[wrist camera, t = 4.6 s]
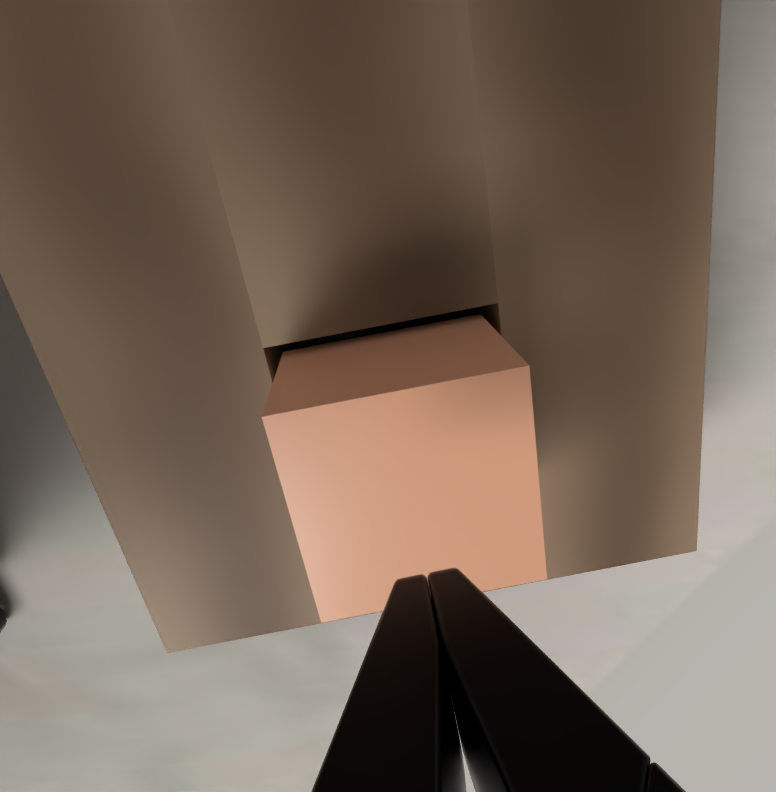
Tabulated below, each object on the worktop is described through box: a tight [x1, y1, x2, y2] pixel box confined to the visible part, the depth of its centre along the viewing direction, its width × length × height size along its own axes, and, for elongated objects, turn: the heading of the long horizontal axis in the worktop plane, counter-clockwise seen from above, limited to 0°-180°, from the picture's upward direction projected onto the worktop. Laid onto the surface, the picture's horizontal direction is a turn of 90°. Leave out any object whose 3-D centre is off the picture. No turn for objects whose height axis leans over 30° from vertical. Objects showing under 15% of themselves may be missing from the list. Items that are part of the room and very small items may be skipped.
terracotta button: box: [262, 314, 547, 623], centre depth 12 cm, size 4×4×4 cm
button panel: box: [0, 0, 721, 653], centre depth 11 cm, size 14×26×4 cm, turn 10°
